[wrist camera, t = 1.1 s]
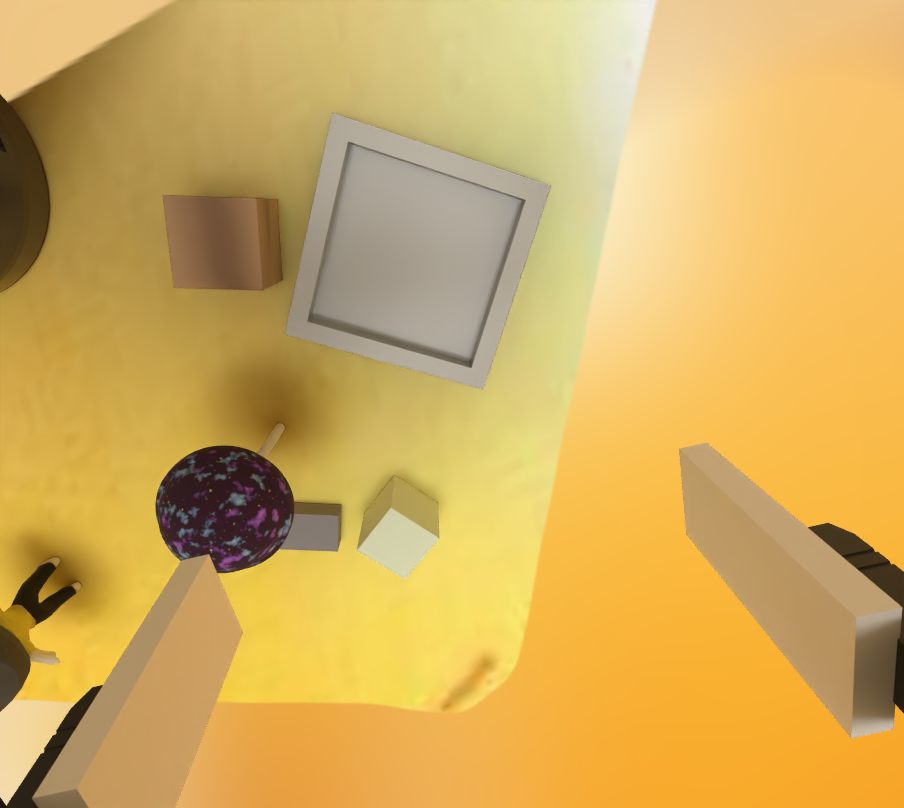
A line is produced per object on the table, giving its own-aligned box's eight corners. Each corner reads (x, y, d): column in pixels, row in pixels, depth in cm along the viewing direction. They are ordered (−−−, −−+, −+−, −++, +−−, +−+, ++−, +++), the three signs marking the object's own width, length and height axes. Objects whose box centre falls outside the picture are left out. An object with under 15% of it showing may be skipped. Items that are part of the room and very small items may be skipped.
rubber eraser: (262, 533, 44) (255, 548, 42) (261, 498, 43) (254, 511, 41) (341, 536, 45) (337, 551, 43) (341, 502, 44) (338, 515, 42)
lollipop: (259, 483, 43) (176, 622, 28) (213, 402, 40) (99, 508, 26) (344, 451, 42) (303, 576, 28) (302, 367, 40) (235, 455, 26)
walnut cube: (205, 277, 38) (173, 288, 33) (196, 196, 36) (162, 195, 31) (282, 279, 38) (262, 290, 33) (277, 199, 36) (255, 198, 32)
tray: (291, 327, 39) (284, 334, 37) (337, 117, 35) (332, 112, 33) (480, 380, 41) (482, 389, 39) (544, 186, 37) (551, 185, 35)
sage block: (364, 513, 44) (356, 550, 39) (394, 474, 43) (390, 507, 38) (407, 539, 45) (405, 579, 40) (437, 502, 44) (439, 538, 39)
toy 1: (3, 542, 43) (-203, 706, 29) (62, 513, 43) (-118, 666, 28) (75, 625, 46) (-82, 812, 32) (132, 598, 45) (-1, 776, 31)
